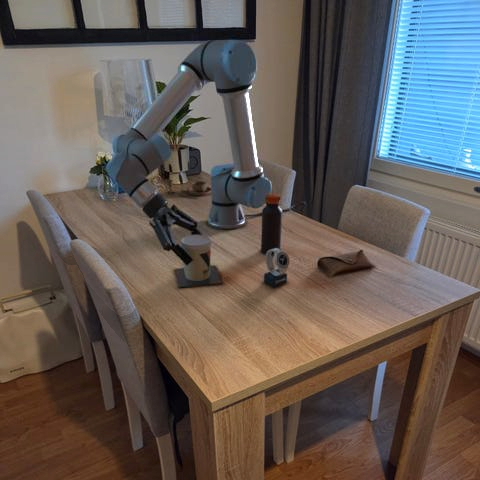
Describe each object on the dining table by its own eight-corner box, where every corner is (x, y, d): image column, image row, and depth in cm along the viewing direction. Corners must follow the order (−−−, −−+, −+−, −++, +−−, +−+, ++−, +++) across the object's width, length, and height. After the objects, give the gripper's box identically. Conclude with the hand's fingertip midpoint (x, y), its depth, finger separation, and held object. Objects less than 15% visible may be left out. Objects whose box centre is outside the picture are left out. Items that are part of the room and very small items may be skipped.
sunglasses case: (331, 276, 140) (327, 255, 139) (319, 278, 146) (315, 258, 146) (376, 266, 146) (372, 246, 146) (363, 269, 153) (359, 250, 152)
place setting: (198, 199, 210) (197, 187, 207) (166, 192, 219) (165, 180, 216) (219, 190, 223) (219, 178, 219) (188, 184, 232) (187, 173, 229)
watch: (277, 290, 133) (279, 256, 127) (260, 280, 138) (261, 247, 133) (291, 285, 136) (293, 251, 130) (273, 275, 141) (275, 243, 135)
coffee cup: (208, 283, 136) (206, 246, 129) (178, 280, 137) (175, 244, 131) (215, 270, 143) (214, 235, 137) (187, 268, 145) (185, 233, 138)
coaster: (214, 266, 147) (214, 265, 147) (221, 284, 136) (221, 282, 136) (175, 270, 145) (175, 268, 144) (179, 288, 134) (179, 286, 134)
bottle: (271, 256, 154) (274, 199, 143) (257, 251, 158) (258, 195, 147) (283, 251, 158) (287, 195, 147) (269, 246, 162) (271, 191, 151)
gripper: (162, 197, 144) (206, 245, 148) (121, 222, 124) (174, 277, 128) (175, 182, 140) (221, 232, 144) (135, 205, 120) (189, 263, 124)
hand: (199, 254), depth 136 cm, fingers open, 13 cm apart
